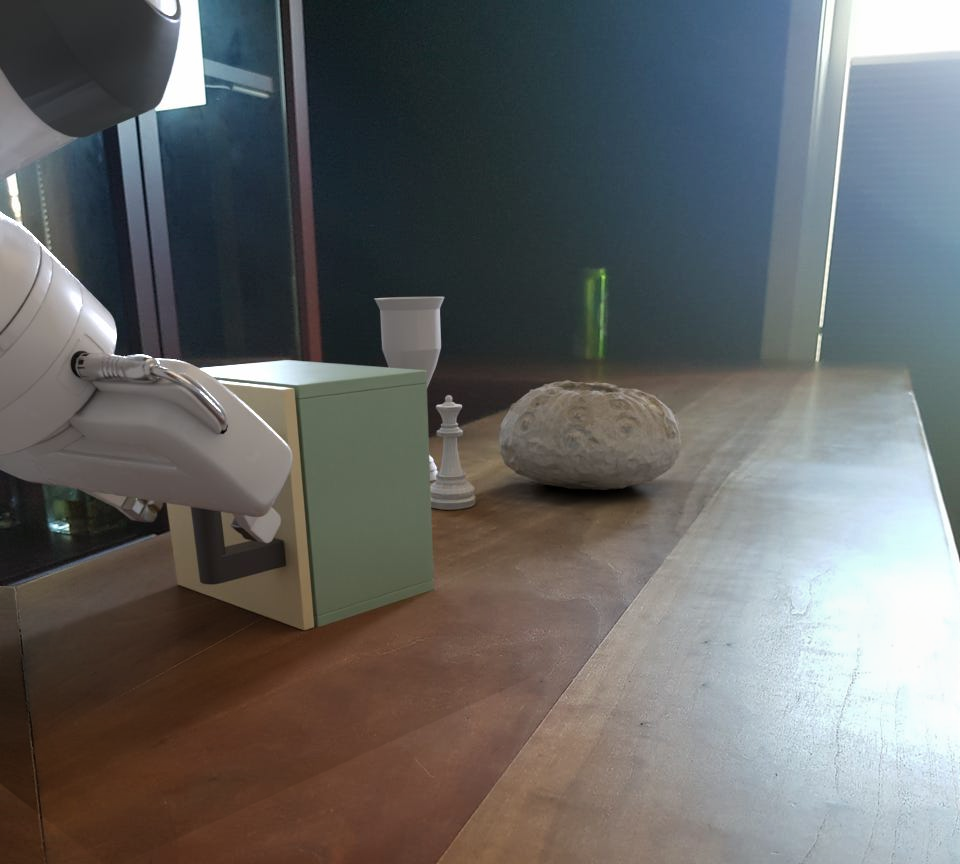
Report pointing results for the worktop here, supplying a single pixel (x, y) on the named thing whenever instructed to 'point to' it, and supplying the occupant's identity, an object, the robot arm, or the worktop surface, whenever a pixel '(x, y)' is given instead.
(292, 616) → the door
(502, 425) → the decorative shell
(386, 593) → the cupboard
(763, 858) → the worktop surface
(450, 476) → the chess piece
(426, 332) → the chalice
